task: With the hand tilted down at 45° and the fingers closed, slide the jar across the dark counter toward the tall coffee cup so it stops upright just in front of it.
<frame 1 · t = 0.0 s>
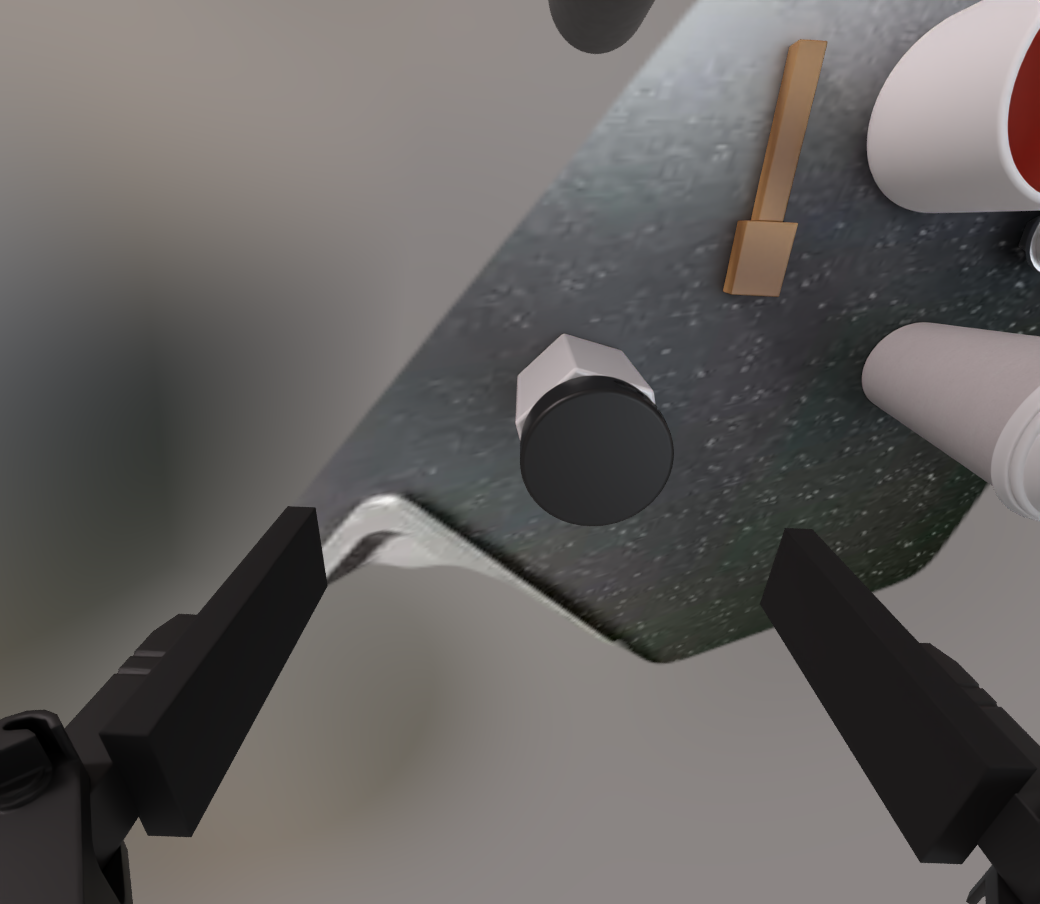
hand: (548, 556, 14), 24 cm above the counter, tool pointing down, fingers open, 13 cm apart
jar: (574, 390, 37), on the counter
brown wooden bar: (770, 186, 31), on the counter
coffee cup: (905, 366, 36), on the counter
cup: (940, 121, 29), on the counter
screw: (1037, 233, 32), on the counter
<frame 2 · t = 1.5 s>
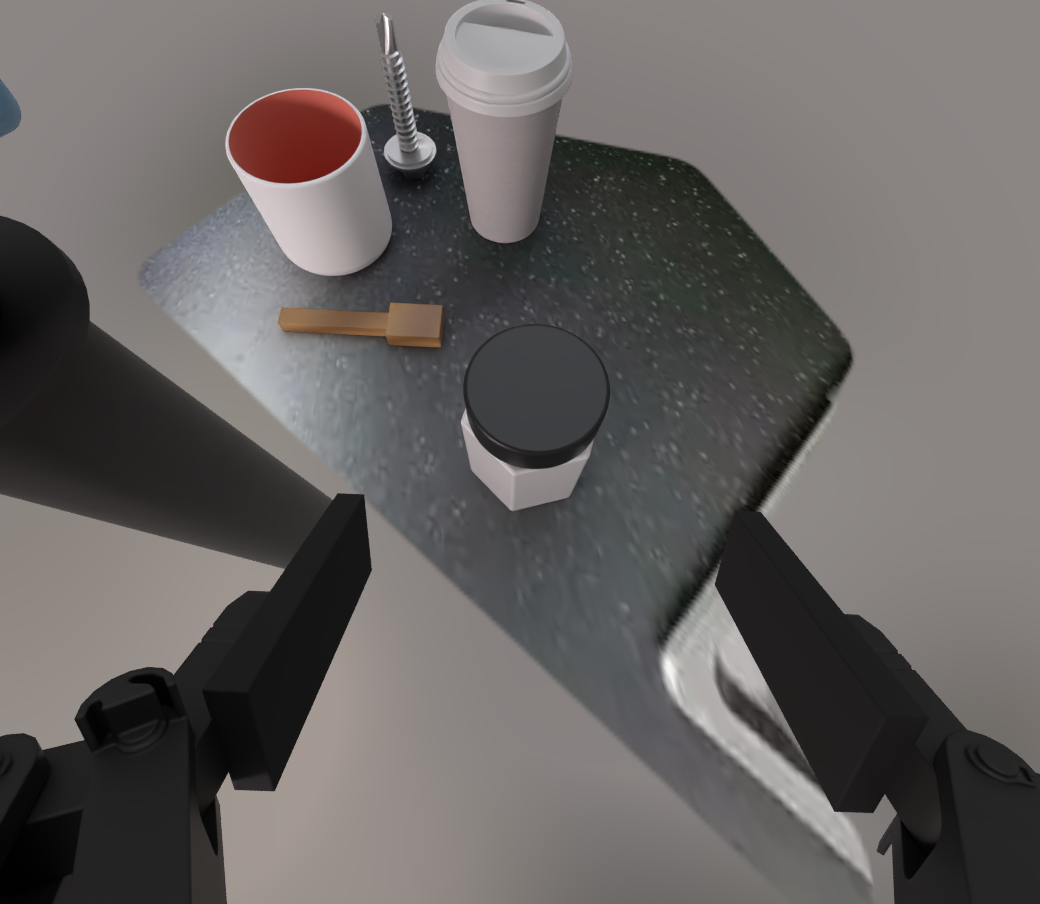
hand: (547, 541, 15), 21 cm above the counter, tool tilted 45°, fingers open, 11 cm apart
jar: (527, 458, 38), on the counter
brown wooden bar: (367, 327, 42), on the counter
coffee cup: (504, 217, 46), on the counter
cup: (340, 239, 45), on the counter
screw: (414, 171, 48), on the counter
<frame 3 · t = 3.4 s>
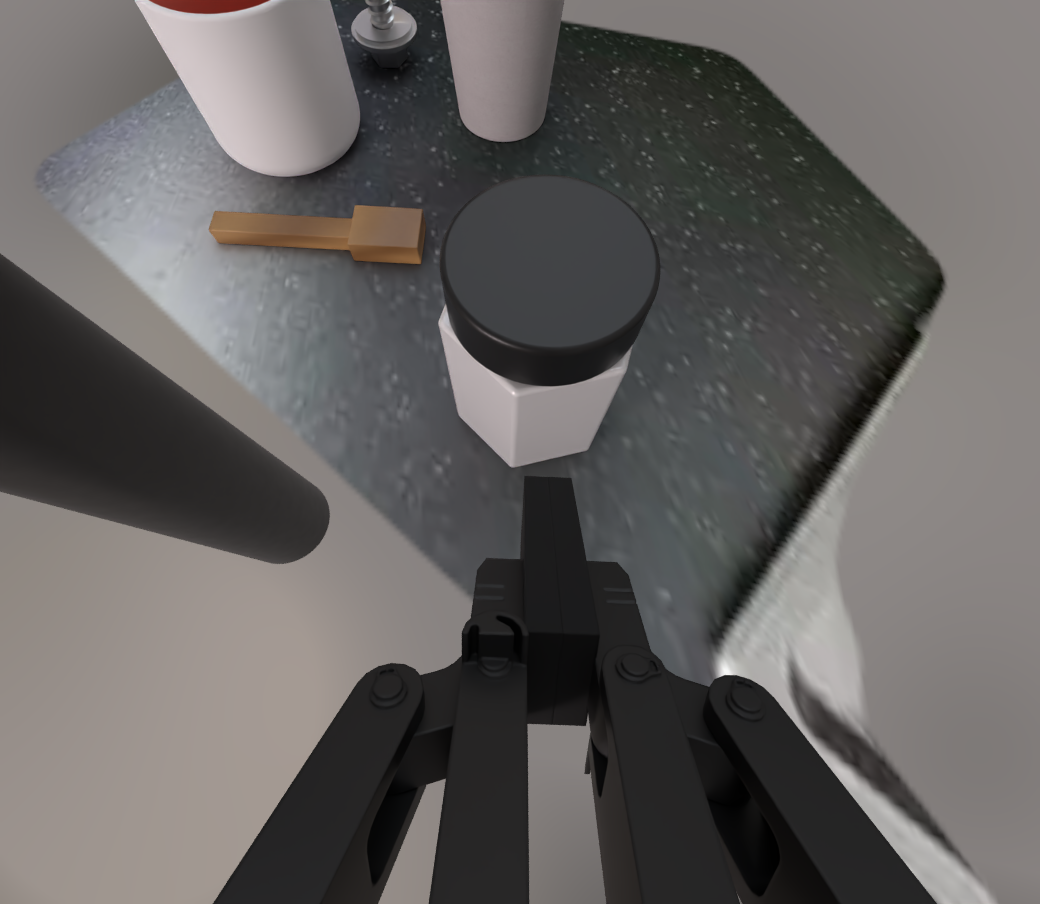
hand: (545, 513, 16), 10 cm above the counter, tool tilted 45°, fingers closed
jar: (532, 401, 29), on the counter
brown wooden bar: (327, 239, 32), on the counter
coffee cup: (502, 113, 37), on the counter
cup: (296, 137, 36), on the counter
screw: (390, 60, 39), on the counter
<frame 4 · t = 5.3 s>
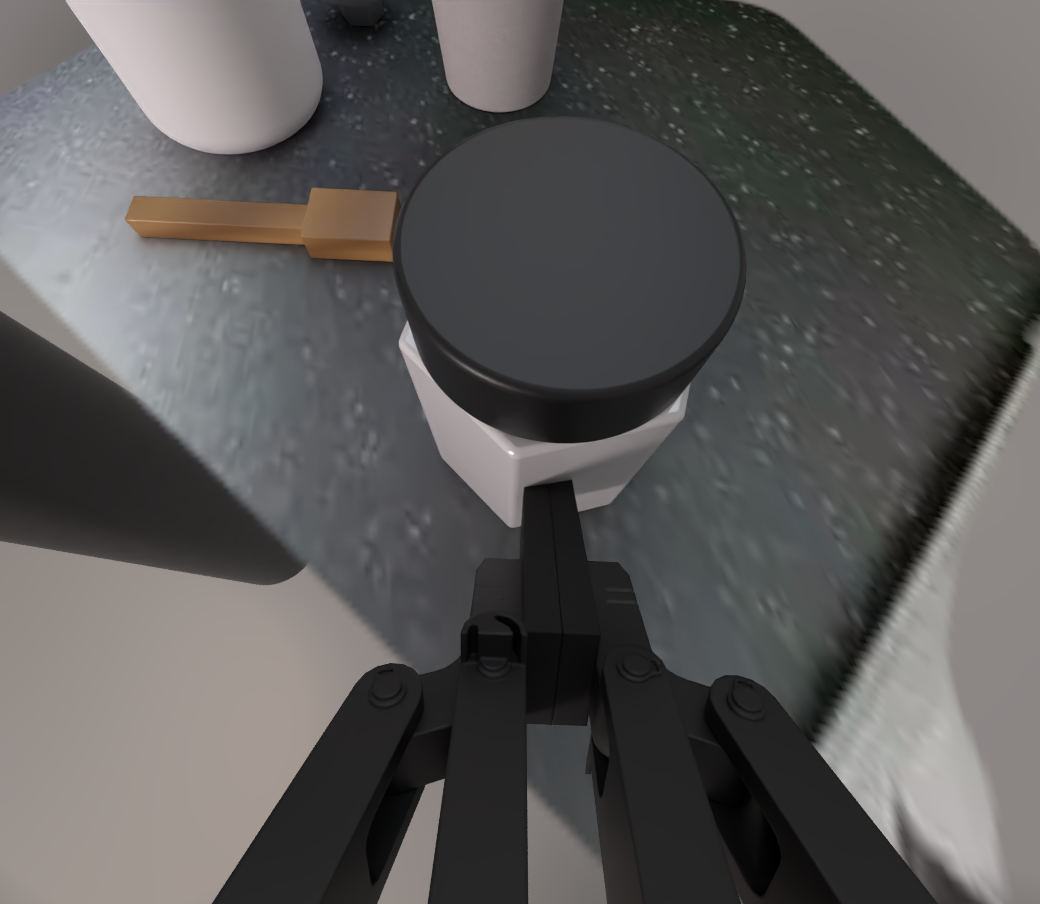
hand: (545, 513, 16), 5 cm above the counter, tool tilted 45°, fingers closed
jar: (537, 436, 22), on the counter, touching gripper
brown wooden bar: (278, 232, 26), on the counter
coffee cup: (498, 79, 31), on the counter
cup: (245, 107, 29), on the counter
screw: (364, 18, 32), on the counter
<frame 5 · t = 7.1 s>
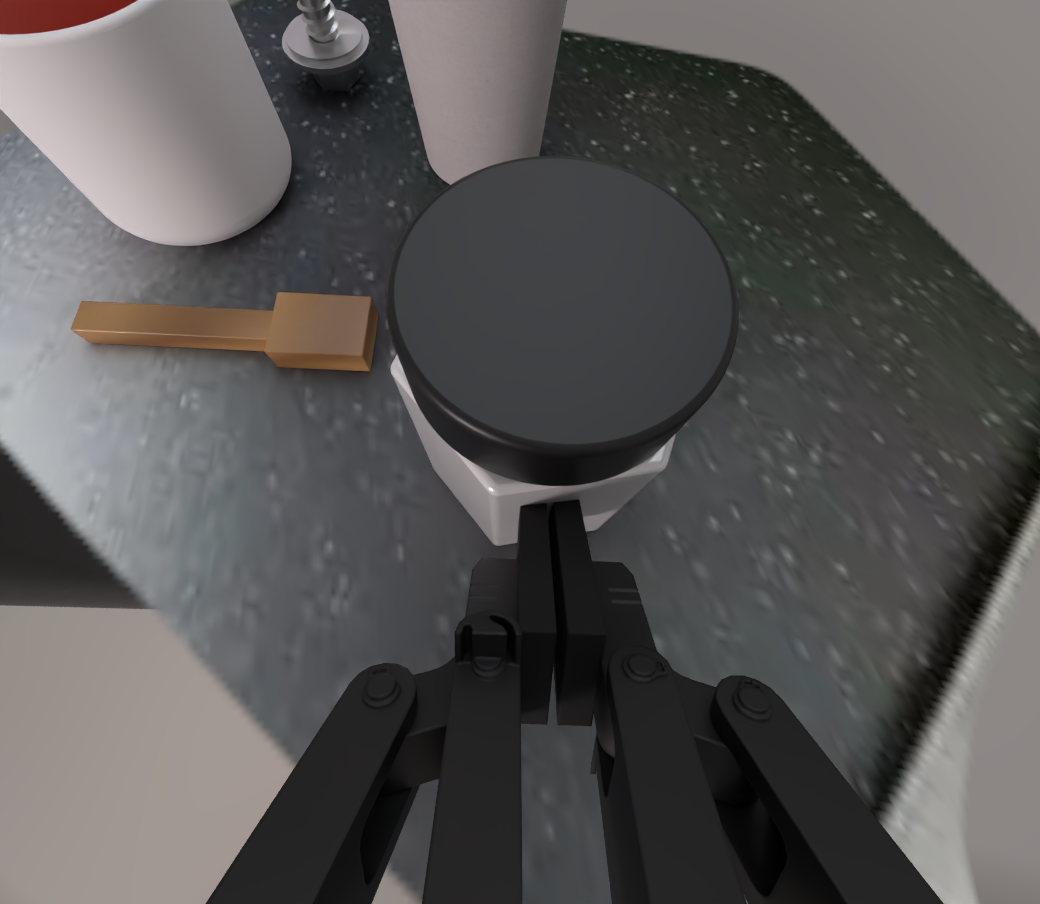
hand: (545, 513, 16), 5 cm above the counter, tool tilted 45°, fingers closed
jar: (531, 455, 23), on the counter, touching gripper
brown wooden bar: (242, 336, 24), on the counter
coffee cup: (483, 153, 28), on the counter
cup: (208, 187, 27), on the counter
screw: (338, 81, 30), on the counter
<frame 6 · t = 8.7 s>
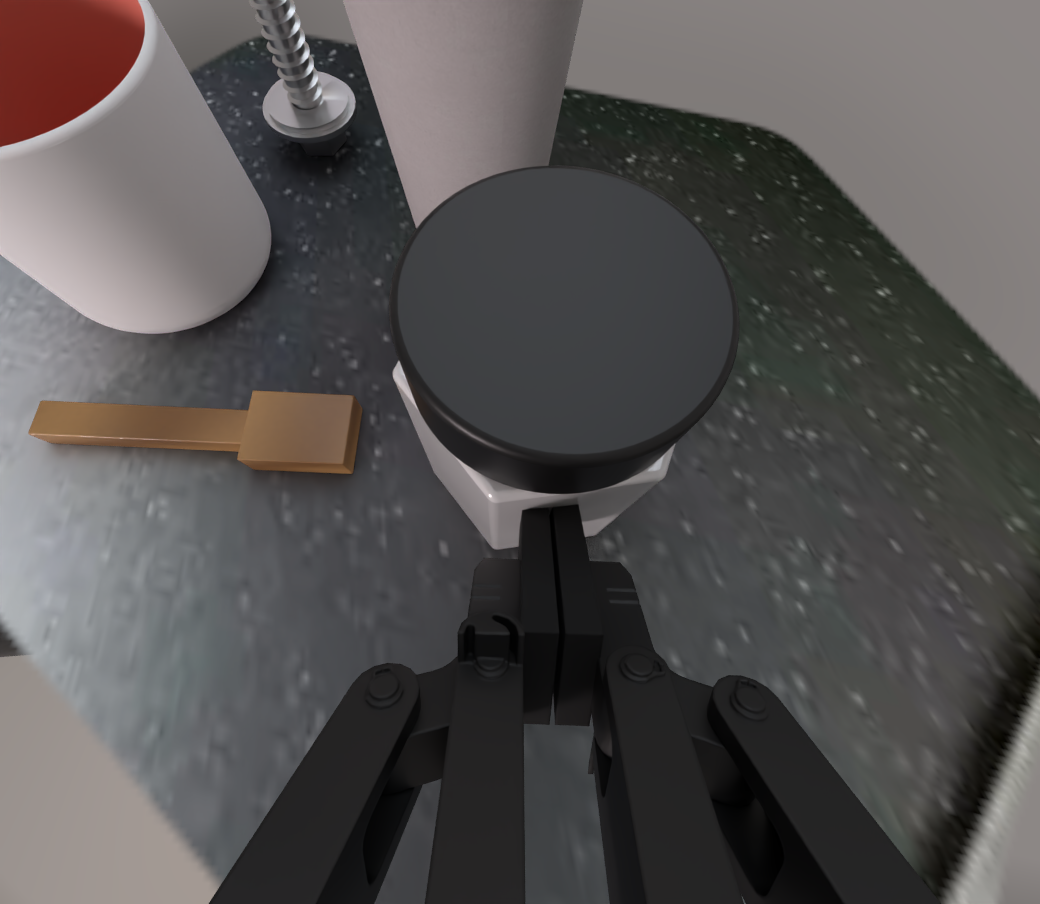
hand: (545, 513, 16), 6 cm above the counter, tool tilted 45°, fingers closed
jar: (531, 459, 23), on the counter, touching gripper
brown wooden bar: (215, 434, 22), on the counter
coffee cup: (476, 224, 27), on the counter
cup: (183, 263, 25), on the counter
screw: (323, 144, 28), on the counter
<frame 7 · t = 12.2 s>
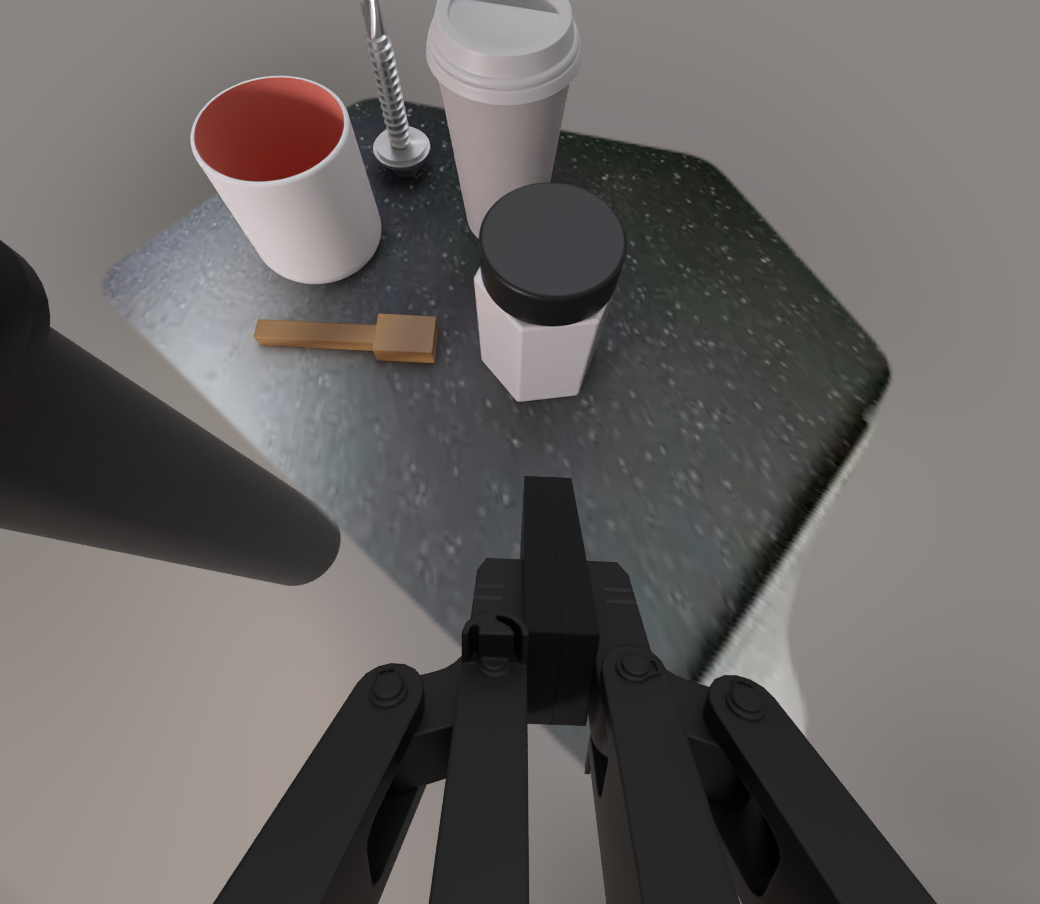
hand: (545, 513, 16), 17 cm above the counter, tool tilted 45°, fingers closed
jar: (539, 355, 38), on the counter
brown wooden bar: (353, 341, 38), on the counter
coffee cup: (505, 219, 42), on the counter
cup: (325, 244, 41), on the counter
screw: (406, 170, 44), on the counter
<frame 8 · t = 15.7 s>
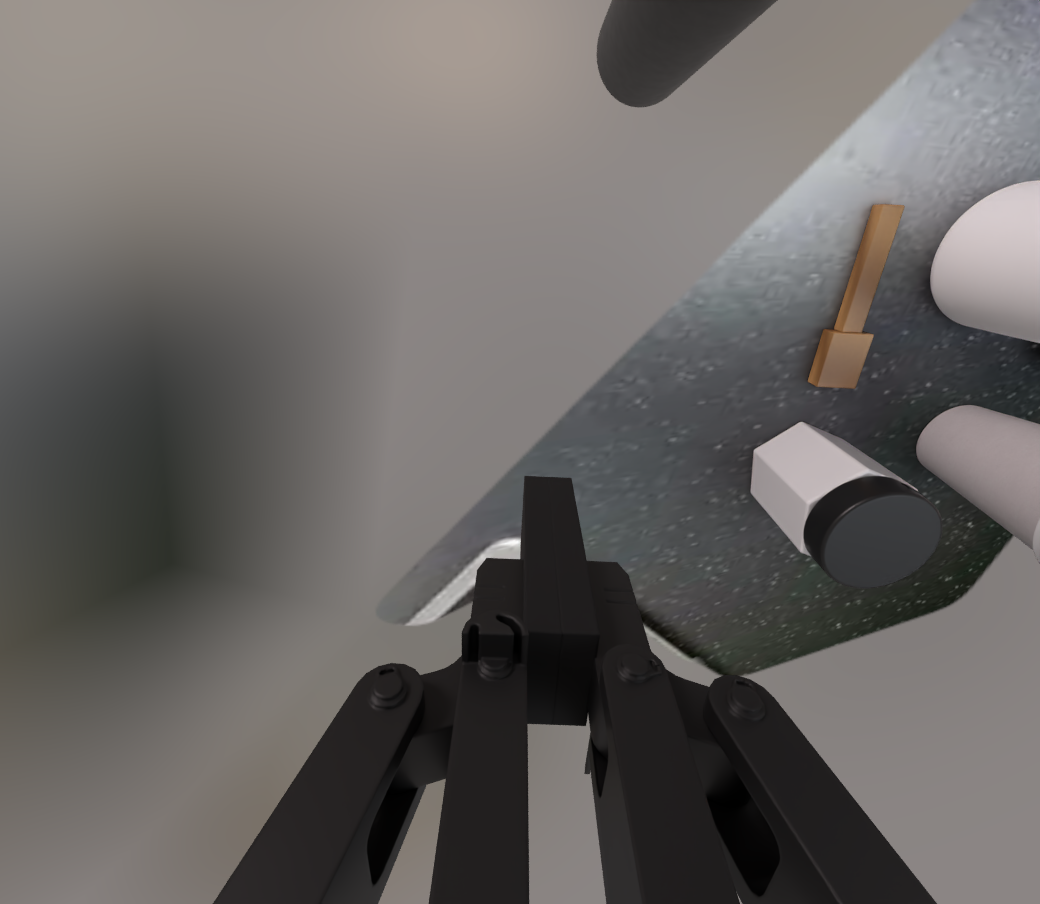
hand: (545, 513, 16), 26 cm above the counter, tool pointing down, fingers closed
jar: (793, 465, 45), on the counter
brown wooden bar: (851, 304, 39), on the counter
coffee cup: (952, 438, 44), on the counter
cup: (988, 257, 37), on the counter
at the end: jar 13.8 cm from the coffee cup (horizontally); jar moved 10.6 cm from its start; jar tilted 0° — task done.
